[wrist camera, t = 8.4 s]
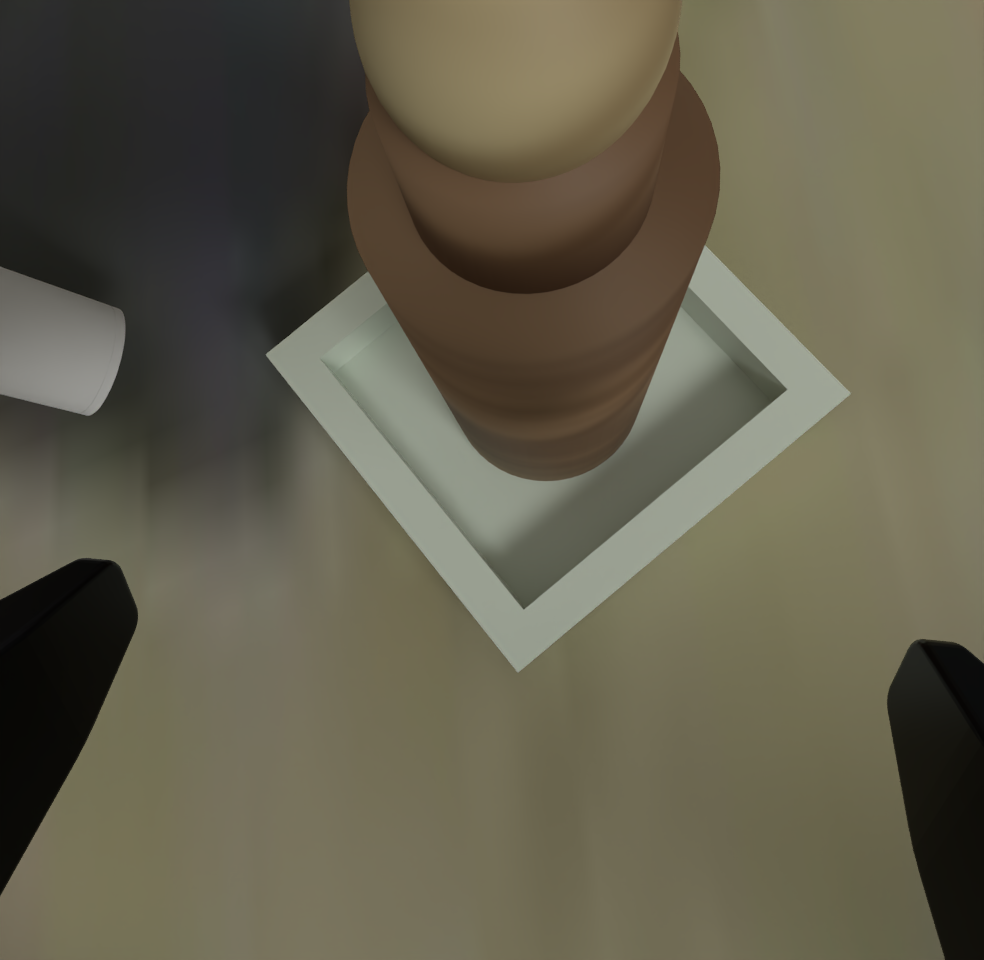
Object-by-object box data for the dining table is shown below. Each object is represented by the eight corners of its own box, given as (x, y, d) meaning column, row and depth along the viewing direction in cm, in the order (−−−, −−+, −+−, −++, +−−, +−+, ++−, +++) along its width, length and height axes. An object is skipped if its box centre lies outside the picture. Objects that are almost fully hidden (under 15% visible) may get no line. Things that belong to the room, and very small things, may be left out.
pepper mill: (582, 516, 18) (636, 262, 5) (420, 424, 19) (58, -23, 5) (675, 354, 18) (972, -312, 5) (513, 271, 19) (394, -495, 6)
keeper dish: (522, 665, 18) (517, 673, 16) (291, 375, 20) (265, 354, 18) (823, 413, 18) (850, 393, 17) (569, 149, 20) (569, 107, 19)
